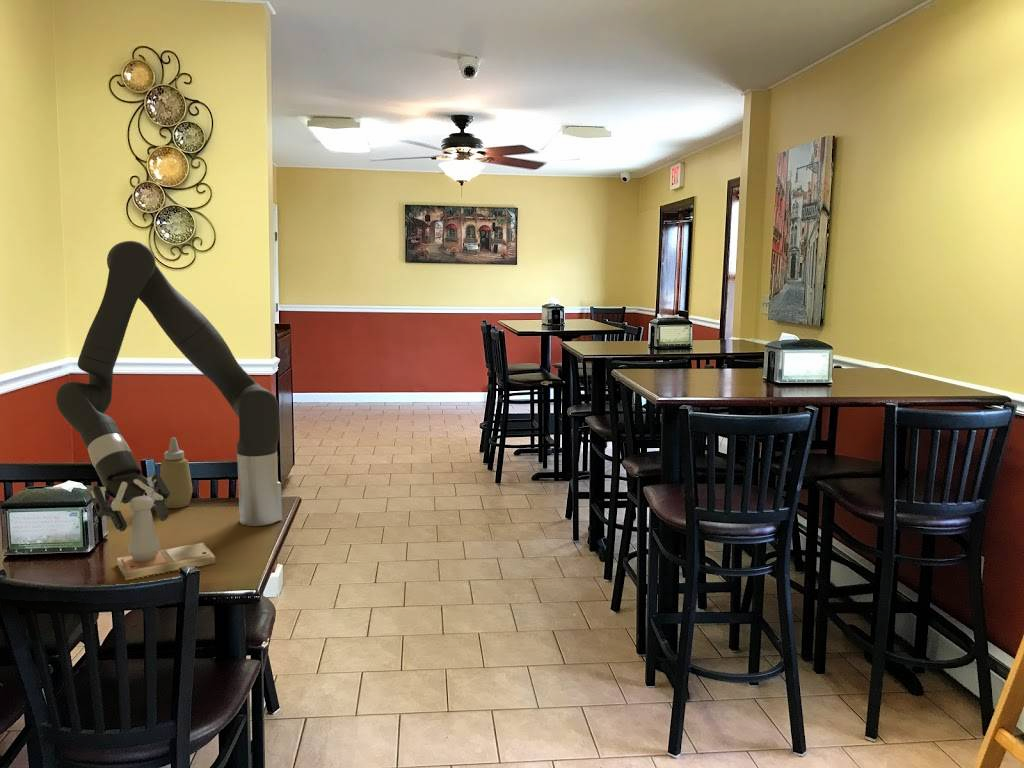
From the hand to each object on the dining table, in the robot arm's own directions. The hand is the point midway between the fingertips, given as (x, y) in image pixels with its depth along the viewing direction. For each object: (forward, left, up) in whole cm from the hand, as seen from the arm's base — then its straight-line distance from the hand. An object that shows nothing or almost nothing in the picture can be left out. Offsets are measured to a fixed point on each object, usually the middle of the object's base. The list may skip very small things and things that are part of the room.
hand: (145, 523), depth 157 cm
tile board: (-4, -1, -10) cm, 10 cm away
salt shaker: (0, -2, -8) cm, 8 cm away
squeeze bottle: (-15, -43, -10) cm, 47 cm away
